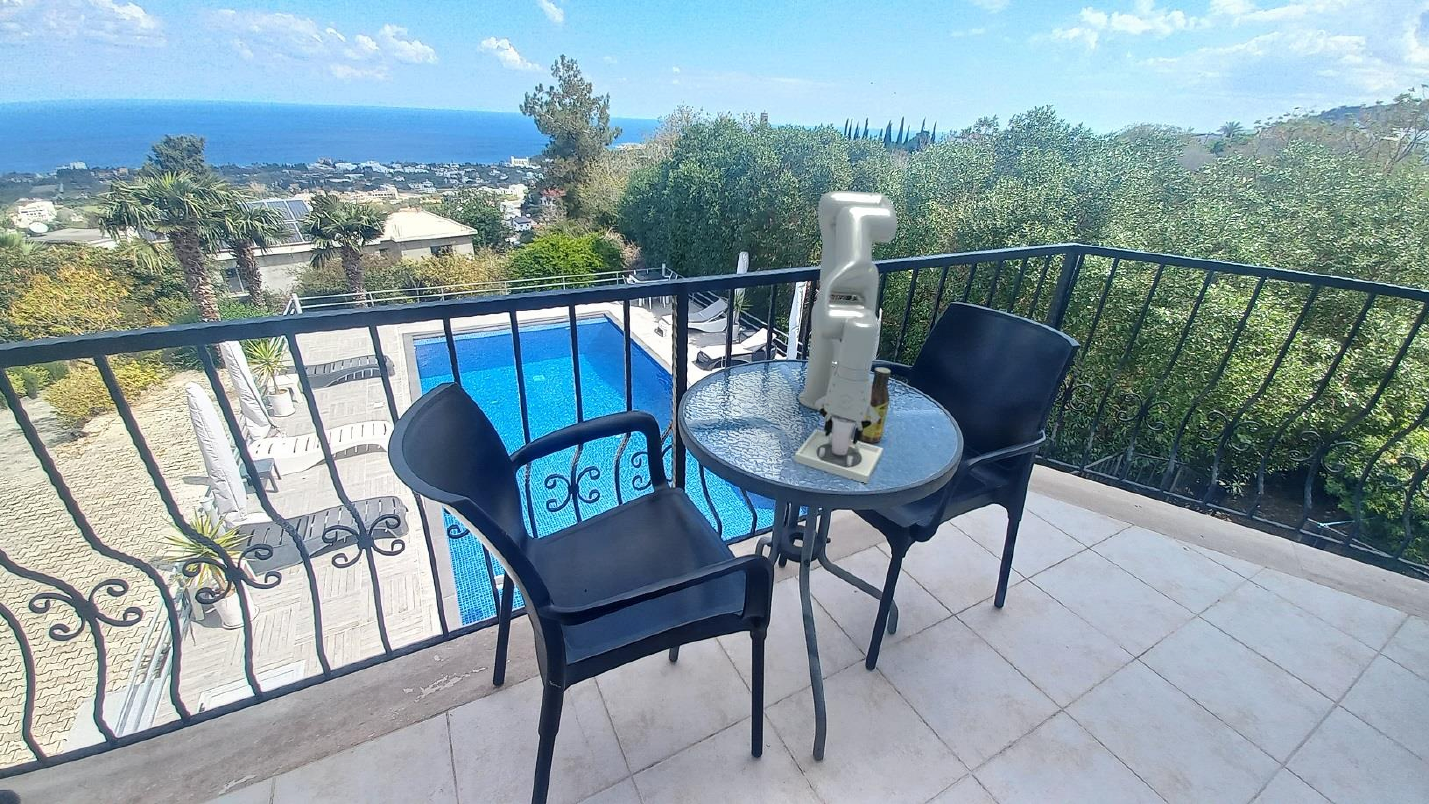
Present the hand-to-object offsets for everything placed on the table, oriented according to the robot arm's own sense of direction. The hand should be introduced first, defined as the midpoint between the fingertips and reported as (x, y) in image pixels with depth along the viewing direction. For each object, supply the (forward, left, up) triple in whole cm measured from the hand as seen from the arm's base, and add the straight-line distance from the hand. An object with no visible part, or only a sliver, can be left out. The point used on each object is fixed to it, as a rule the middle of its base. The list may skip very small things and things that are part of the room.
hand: (841, 437), depth 133 cm
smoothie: (0, 0, -4) cm, 4 cm away
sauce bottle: (-15, +4, -6) cm, 17 cm away
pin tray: (0, 0, -6) cm, 6 cm away
